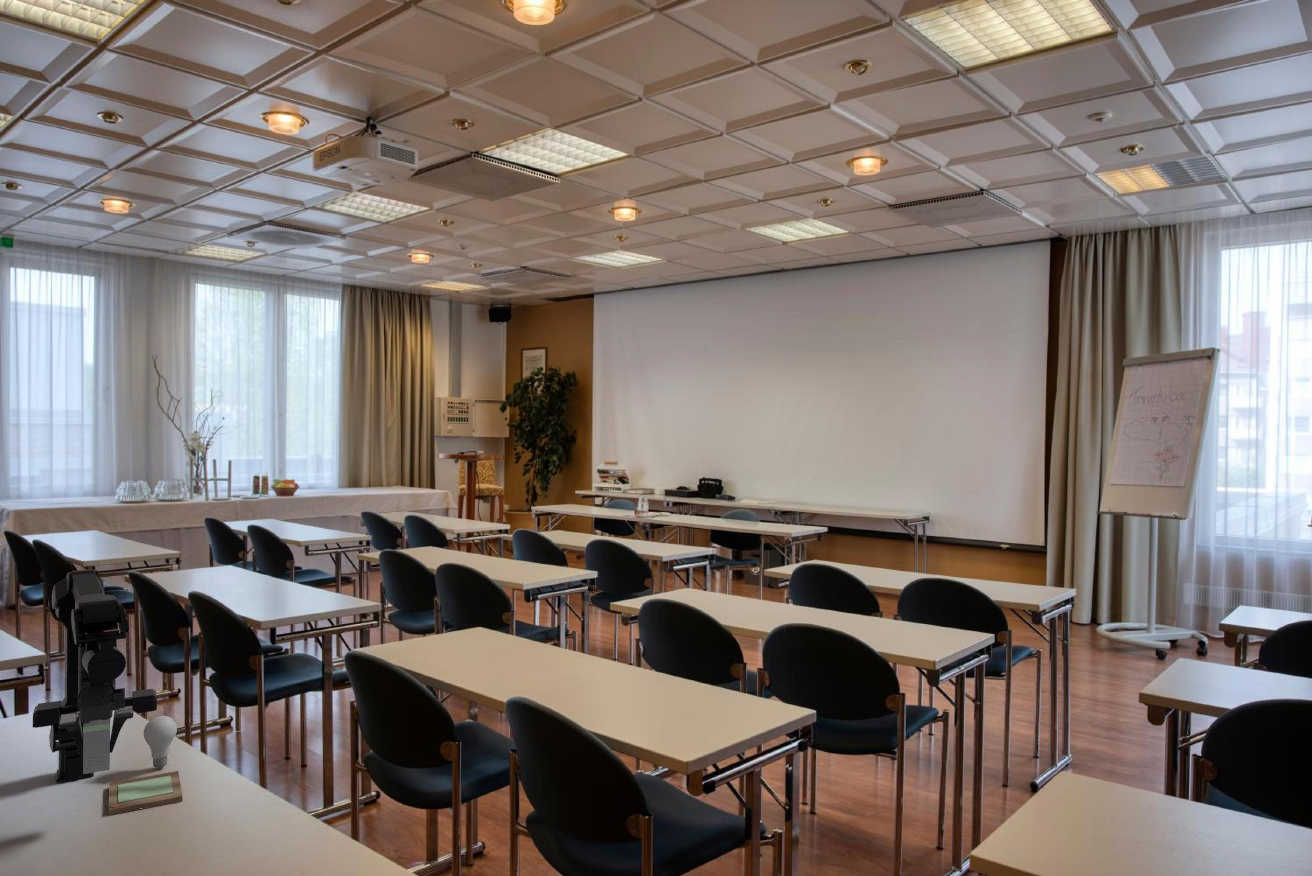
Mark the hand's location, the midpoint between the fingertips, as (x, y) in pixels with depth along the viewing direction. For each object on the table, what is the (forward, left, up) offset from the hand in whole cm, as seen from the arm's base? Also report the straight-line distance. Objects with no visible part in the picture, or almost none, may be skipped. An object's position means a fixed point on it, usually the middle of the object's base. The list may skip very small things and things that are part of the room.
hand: (96, 754), depth 156 cm
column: (0, 0, -2) cm, 2 cm away
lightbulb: (-22, +11, -13) cm, 27 cm away
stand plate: (-9, +8, -12) cm, 17 cm away
